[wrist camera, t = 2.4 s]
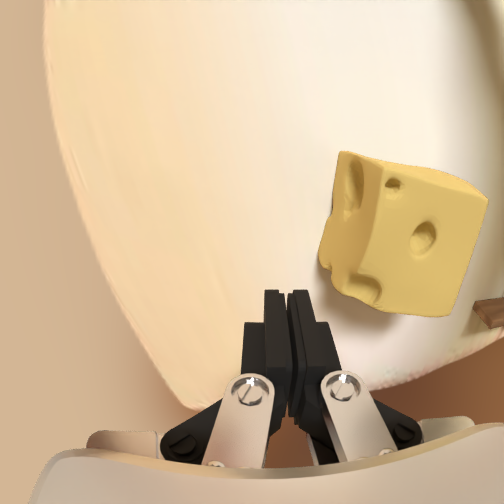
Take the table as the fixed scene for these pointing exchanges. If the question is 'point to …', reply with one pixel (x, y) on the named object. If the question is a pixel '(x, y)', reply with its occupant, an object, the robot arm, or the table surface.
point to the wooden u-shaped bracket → (491, 311)
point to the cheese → (400, 235)
